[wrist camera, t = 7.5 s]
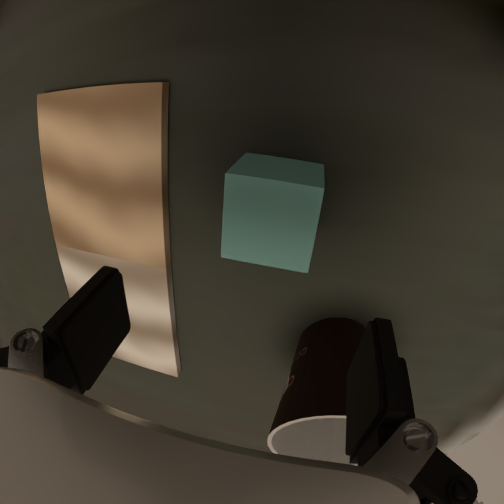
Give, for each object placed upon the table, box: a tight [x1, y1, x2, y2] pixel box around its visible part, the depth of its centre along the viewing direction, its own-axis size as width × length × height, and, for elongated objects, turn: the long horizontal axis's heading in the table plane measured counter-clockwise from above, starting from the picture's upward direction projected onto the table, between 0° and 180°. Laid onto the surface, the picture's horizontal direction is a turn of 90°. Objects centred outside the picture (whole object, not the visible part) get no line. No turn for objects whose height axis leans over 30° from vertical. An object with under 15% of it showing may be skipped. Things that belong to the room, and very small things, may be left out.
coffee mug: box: [267, 318, 366, 466], centre depth 23 cm, size 12×9×10 cm
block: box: [221, 153, 325, 273], centre depth 19 cm, size 5×5×5 cm
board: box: [37, 82, 181, 377], centre depth 26 cm, size 28×12×1 cm, turn 175°
